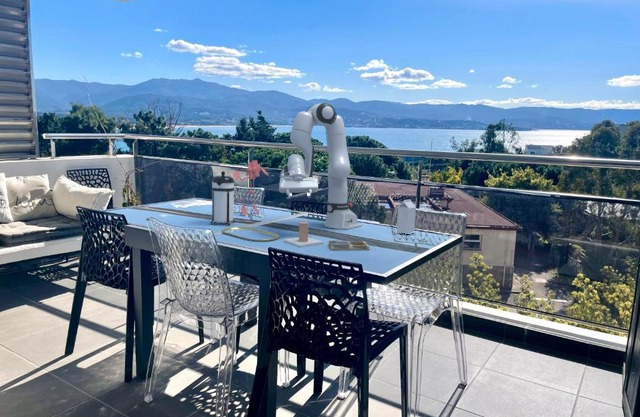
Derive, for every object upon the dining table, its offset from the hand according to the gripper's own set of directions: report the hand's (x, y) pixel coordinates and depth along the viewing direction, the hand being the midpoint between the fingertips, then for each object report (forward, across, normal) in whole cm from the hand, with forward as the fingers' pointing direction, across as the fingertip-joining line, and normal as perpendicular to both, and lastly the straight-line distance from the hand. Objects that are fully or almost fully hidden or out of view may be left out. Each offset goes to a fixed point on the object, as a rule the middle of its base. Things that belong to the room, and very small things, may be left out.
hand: (299, 197), depth 250 cm
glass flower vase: (-36, +24, -57) cm, 71 cm away
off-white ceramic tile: (+22, 0, -9) cm, 24 cm away
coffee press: (-16, +41, -39) cm, 59 cm away
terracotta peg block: (+22, 0, -8) cm, 23 cm away
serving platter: (+9, +25, -20) cm, 33 cm away
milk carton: (+6, -60, -26) cm, 65 cm away
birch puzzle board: (+31, -21, -3) cm, 37 cm away
